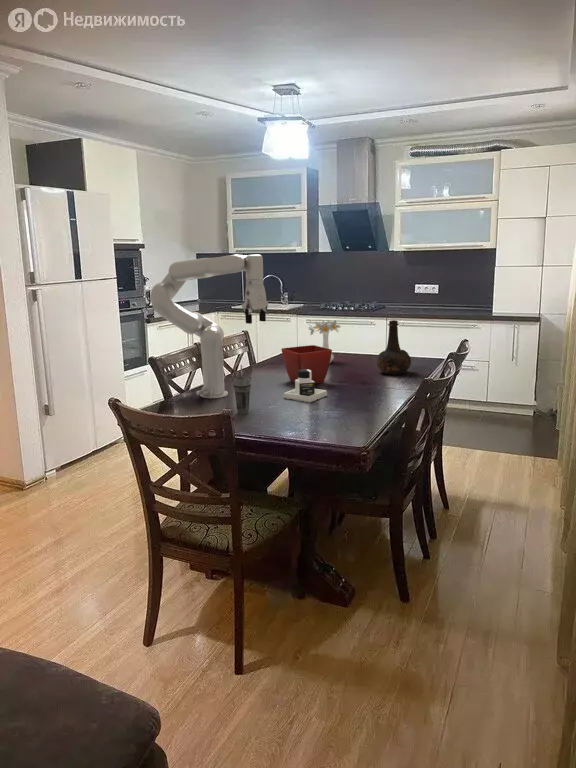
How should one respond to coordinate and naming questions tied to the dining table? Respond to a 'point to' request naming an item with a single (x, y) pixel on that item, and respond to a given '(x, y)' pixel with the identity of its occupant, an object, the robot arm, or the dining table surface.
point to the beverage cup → (242, 393)
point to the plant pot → (307, 361)
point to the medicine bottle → (304, 383)
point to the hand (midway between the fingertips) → (255, 322)
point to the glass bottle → (393, 354)
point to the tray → (304, 398)
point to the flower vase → (325, 331)
